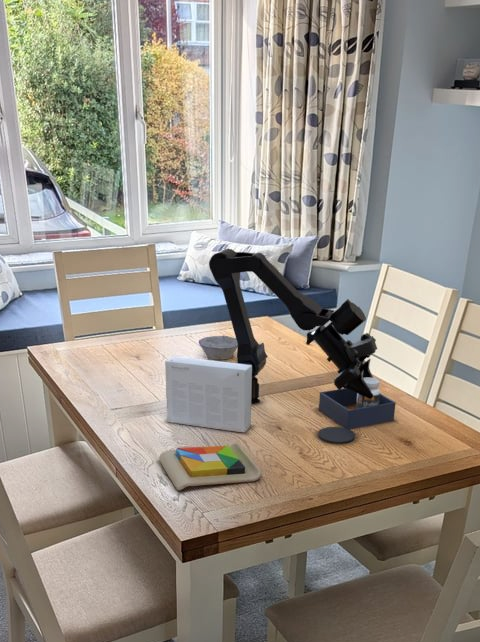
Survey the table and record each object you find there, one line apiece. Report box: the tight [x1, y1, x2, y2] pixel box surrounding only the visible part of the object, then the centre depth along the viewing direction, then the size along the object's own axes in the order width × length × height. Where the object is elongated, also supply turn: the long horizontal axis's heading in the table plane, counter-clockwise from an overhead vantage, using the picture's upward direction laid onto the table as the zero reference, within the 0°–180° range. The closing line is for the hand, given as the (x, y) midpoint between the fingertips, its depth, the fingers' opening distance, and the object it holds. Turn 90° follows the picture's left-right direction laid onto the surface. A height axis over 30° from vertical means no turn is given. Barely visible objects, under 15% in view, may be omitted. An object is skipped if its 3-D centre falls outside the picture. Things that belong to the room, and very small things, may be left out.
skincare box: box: [164, 355, 252, 433], centre depth 185 cm, size 21×6×16 cm, turn 71°
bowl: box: [198, 335, 238, 361], centre depth 235 cm, size 13×13×5 cm
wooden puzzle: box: [158, 442, 262, 491], centre depth 165 cm, size 18×19×4 cm
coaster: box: [317, 426, 356, 445], centre depth 182 cm, size 9×9×1 cm
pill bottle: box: [355, 377, 381, 409], centre depth 191 cm, size 6×6×10 cm
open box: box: [318, 388, 397, 430], centre depth 193 cm, size 14×14×5 cm
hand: (374, 393), depth 190 cm, fingers closed on pill bottle, 5 cm apart
